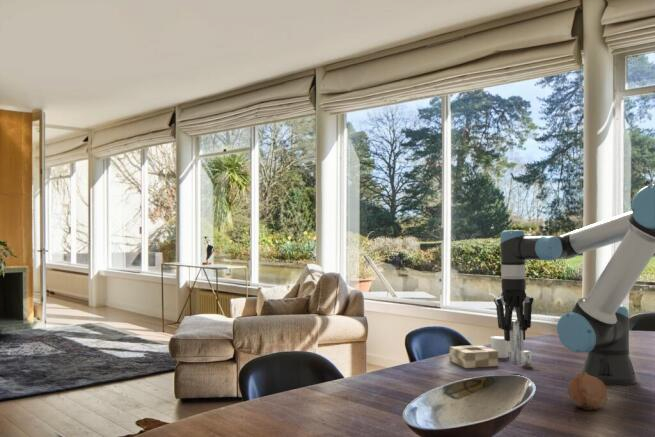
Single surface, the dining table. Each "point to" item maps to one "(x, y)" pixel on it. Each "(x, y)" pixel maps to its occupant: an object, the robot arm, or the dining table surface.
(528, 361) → the short pin
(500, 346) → the shot glass
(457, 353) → the hole block
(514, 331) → the long pin
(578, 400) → the onion
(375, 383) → the dining table surface
